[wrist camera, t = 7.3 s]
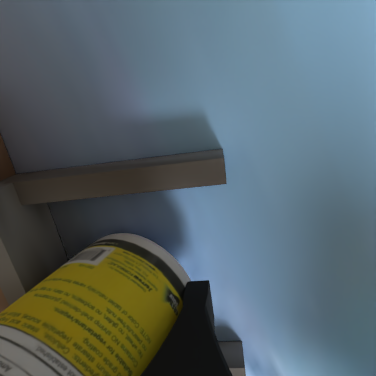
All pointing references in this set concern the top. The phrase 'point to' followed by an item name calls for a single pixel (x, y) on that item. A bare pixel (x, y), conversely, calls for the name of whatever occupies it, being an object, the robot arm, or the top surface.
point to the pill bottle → (95, 312)
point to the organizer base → (81, 189)
